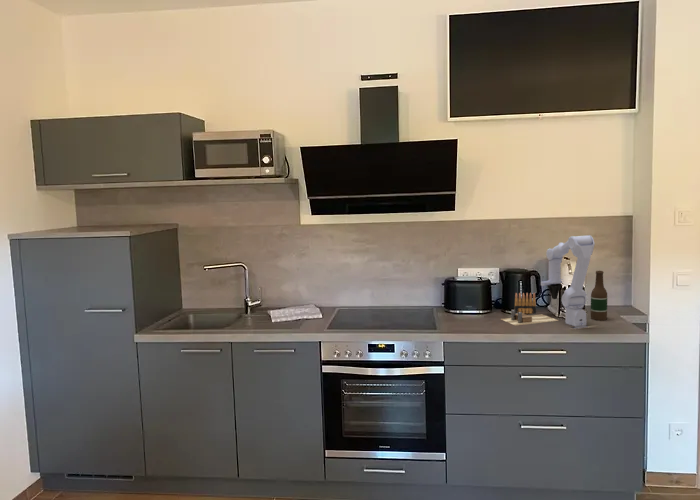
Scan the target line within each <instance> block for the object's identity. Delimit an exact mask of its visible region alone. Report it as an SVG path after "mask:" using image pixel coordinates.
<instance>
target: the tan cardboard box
mask: <svg viewBox="0 0 700 500" xmlns="http://www.w3.org/2000/svg"><path fill="white" fill-rule="evenodd" d="M531 316H532V315H528V314H527V313H522V323H526V322H532V317H531ZM515 320H517V321H518V313H515Z"/></svg>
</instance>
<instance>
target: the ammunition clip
mask: <svg viewBox="0 0 700 500" xmlns="http://www.w3.org/2000/svg"><path fill="white" fill-rule="evenodd" d="M514 294H515V295H514V310H515V314H518V312H522V313H524V314H532V315H537V308H536V307H537V302H536V300H537V299H536V293H535V292H533V294H532V292H530V293H528V292H526V293H524V292H523V293H522V294H521V292H519V293H517V292H515V293H514ZM525 294H526V295H525Z"/></svg>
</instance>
